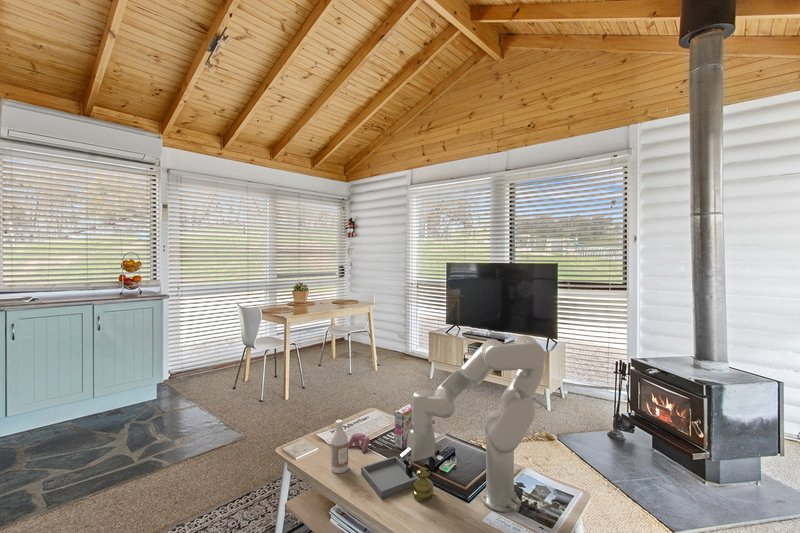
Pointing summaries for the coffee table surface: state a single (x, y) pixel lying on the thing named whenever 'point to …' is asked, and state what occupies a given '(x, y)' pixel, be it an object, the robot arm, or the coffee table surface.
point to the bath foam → (339, 449)
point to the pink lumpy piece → (357, 438)
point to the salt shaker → (423, 486)
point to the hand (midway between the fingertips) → (420, 472)
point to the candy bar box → (403, 425)
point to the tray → (388, 477)
